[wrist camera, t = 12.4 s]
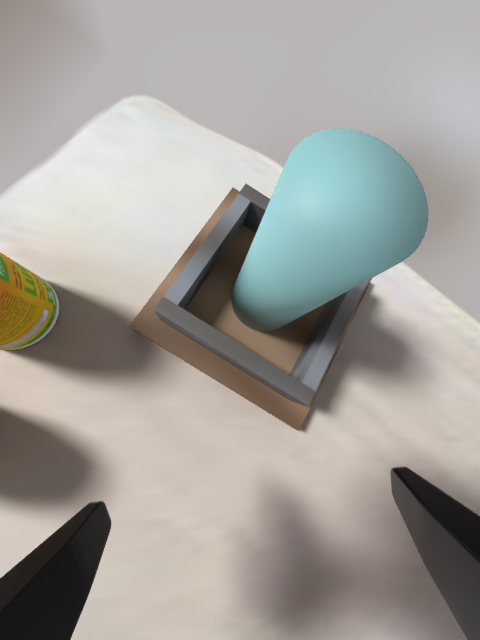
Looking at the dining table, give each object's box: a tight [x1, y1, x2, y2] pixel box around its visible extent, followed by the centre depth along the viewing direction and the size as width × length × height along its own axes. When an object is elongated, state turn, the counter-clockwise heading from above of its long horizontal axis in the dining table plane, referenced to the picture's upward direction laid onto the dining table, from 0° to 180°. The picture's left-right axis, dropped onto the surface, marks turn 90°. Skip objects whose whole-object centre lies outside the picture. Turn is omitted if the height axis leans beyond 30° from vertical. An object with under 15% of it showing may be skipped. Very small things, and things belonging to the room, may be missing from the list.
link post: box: [231, 128, 428, 332], centre depth 14 cm, size 5×5×12 cm
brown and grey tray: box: [129, 184, 372, 431], centre depth 19 cm, size 14×14×4 cm
